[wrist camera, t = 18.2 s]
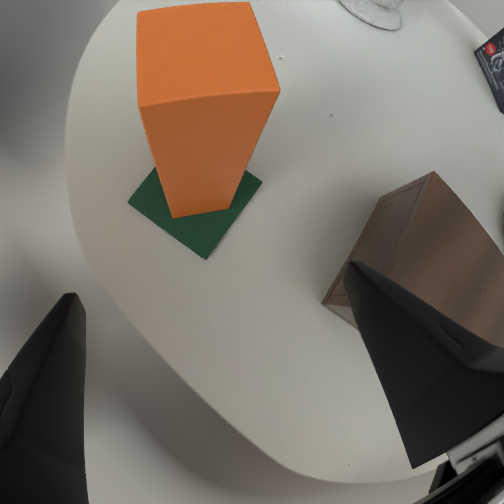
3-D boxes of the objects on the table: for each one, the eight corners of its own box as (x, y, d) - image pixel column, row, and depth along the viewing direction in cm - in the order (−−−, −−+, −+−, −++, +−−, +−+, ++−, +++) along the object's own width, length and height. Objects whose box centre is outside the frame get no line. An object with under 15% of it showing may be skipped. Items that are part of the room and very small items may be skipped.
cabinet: (475, 293, 26) (526, 291, 19) (434, 384, 24) (486, 401, 17) (380, 196, 24) (434, 170, 17) (320, 303, 22) (370, 309, 15)
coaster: (205, 260, 21) (205, 259, 21) (128, 203, 21) (127, 201, 20) (261, 183, 22) (262, 181, 22) (187, 132, 22) (187, 130, 22)
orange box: (229, 208, 21) (282, 90, 8) (172, 219, 21) (137, 107, 7) (217, 151, 22) (250, 1, 8) (164, 160, 21) (136, 11, 7)
